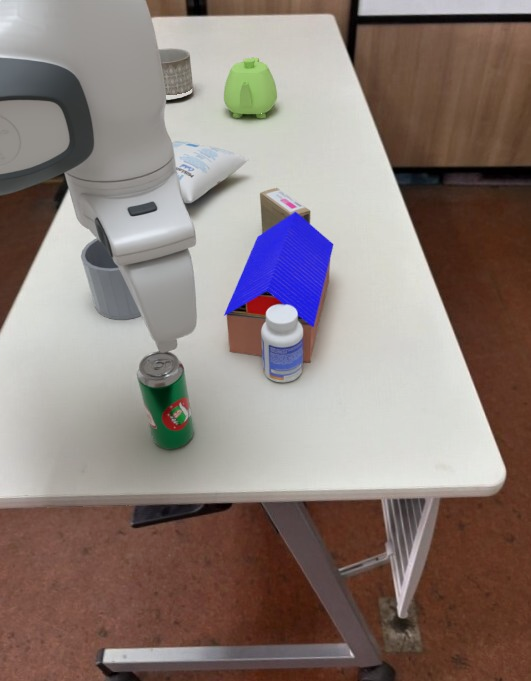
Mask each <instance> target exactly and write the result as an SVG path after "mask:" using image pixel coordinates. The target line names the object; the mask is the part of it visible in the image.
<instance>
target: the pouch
mask: <svg viewBox="0 0 531 681" xmlns="http://www.w3.org/2000/svg"><path fill="white" fill-rule="evenodd" d="M172 144H173V148H174V155H175V162H176V169H177V175H178V177H179V181H180V189H181V196H182V198H183V200H184V203H185V204H192V203H194V202H195V201H196V200H198V199H200V198H201V197H202V196H204V195H205V194H206V193H207V192H208V191H210V190H211V189H213V188H214V187H216V186H217V185H218V184H220V183H222V182H223V181H225V180H227V178H228V177H230V176H231V175H232V174H234V173H236V172H237V171H238V170H239V169H240V168H242V167H243V166H244V165H246V163H247V162H248V161H250V159H249V158H246V157H245V156H243V155H241V154H238V153H235V152H232V151H230V150H226V149H222V148H219V147H215V146H211V145H205V144H200V143H195V142H190V141H184V140H183V141H182V140H176V141H172Z"/></svg>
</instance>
